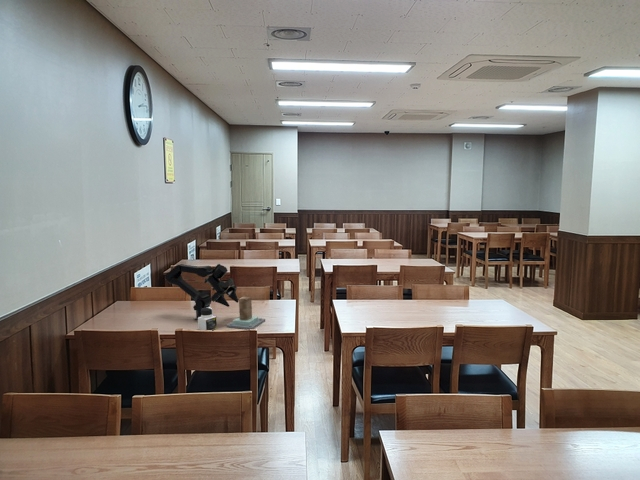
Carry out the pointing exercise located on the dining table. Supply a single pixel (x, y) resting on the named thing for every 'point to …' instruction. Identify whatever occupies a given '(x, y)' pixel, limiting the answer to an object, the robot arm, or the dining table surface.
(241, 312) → the walnut pillar
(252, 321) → the base plate
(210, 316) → the medicine bottle
